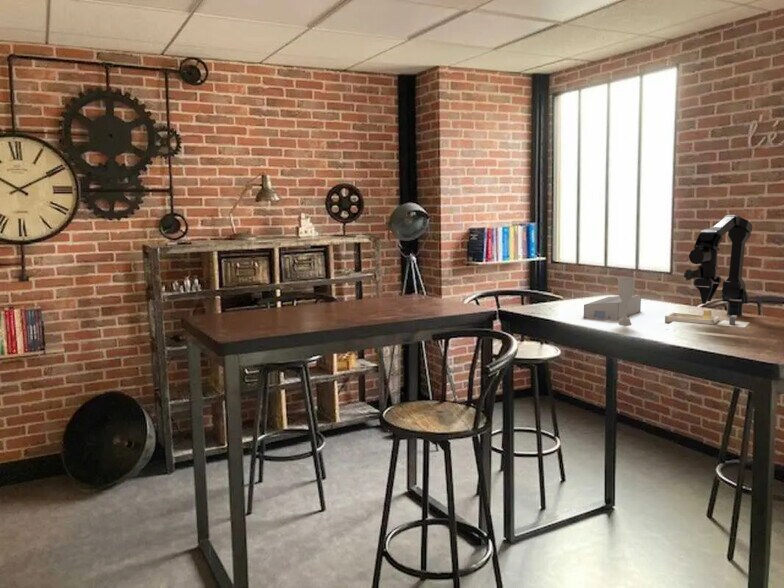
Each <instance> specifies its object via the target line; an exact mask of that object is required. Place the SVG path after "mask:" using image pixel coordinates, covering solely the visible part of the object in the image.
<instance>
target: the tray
mask: <svg viewBox="0 0 784 588" xmlns="http://www.w3.org/2000/svg"><path fill="white" fill-rule="evenodd" d="M677 316H689V317H701V318H703V314H695V313H683V312H670V313H669V314H667V315H665V316H664V323H666V322H668V323H667V324H669V323H670V324H671V323H673V322H683V323H697V324H706V325H715V324H716V323H717V322H720V316H717V315H711V320H707V319H696V318H684V317H677Z"/></svg>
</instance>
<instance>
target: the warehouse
mask: <svg viewBox="0 0 784 588" xmlns="http://www.w3.org/2000/svg"><path fill="white" fill-rule="evenodd" d="M641 300H642V294H635V295H634V294H633V296H632V298H631V299H630V301H629V302H627V314H626V315H627V317H629V316H631V315H634V314H636V313H638V312H641V309H642V308H641V307H642V306H641V305H642V301H641ZM623 311H624V302H623V301H622V300H621V298H620V296H619V295H618V296H606V297H604V298H600V299H597V300H595V301H591V302H589V303H585V304H583V318H590V319H599V320H612V321H620V319H621V318H623V317H624V312H623Z"/></svg>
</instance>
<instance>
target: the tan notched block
mask: <svg viewBox="0 0 784 588" xmlns="http://www.w3.org/2000/svg"><path fill="white" fill-rule="evenodd" d="M702 315H703V318H701V317H689V316H677V317H684V318H696V319H707V320H711V316H712V310H709V309H704V310H703V314H702Z"/></svg>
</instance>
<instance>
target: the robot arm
mask: <svg viewBox="0 0 784 588" xmlns="http://www.w3.org/2000/svg"><path fill="white" fill-rule="evenodd" d="M752 232H753V224H752V223H751V222H750V221H749V220H748V219H745V218H743V217H741V216H740V215H738V214H726V215H724V217H723V218H722V219H721V220H720V221H718V222H717V223H716V224H715V225H713V226H712V227H707V228H704V229H703V230H702V229H701V231H700V232H699V234H698V236H697V238H696V241H695V243H694V246H693V250H691V251H689V254H688V260H689V261H690V262H691V263H692V264H694V265H698V266H697V267H698V268H697V269H694V270H692V268H688V269H686V270H685V271H684V273H683V277H684V278H685V281H686V282H687V281H690V280H693V279H694V281H693V286H694V288H696V289H697V290H698V291H699V294H700V298H701V304H702V305H705V304H707V302H711V301H712V299H713V298H714V295H715V293H716V291H717V290H718V288H719V286H720V283H721V281H722V277H721V276H720V275H718V274H717V269H718V268H719V265H718V252H719V251H720V247H719V245H720V244H721V242H722V241H723V240H724V238H723V236H724V235H726V234H727V235H728V238H729V240H730V241H731V248H730V249H731V250H730V257H729V258H730V261H729V271H728V277H727V279H726V280H724V281H723V282H722V288H721V299H722V300H721V301H722V302H723V303H724V302H727V307H726V309H727V310H726V314H725V316H729V317H730V316H732V315H737V317H745V314H743V313H744V311H743V310H744V304H749V301H750V296H749V294H748V292H747V290H746V283H745V281H744V280H743V268H744V260H745V259H744V258H745V248H746V243H747V241H748V240H749V239H750V237H751V235H752ZM695 278H696V279H695Z"/></svg>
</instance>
